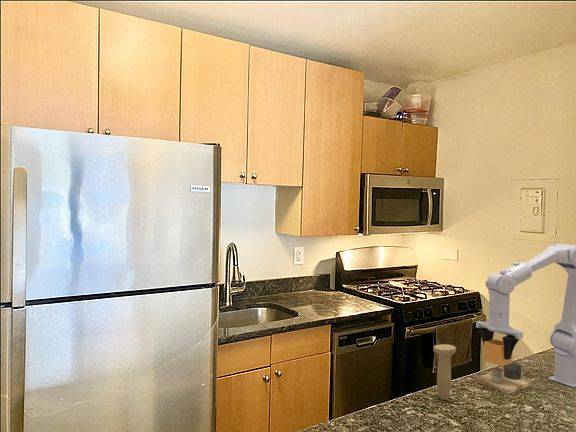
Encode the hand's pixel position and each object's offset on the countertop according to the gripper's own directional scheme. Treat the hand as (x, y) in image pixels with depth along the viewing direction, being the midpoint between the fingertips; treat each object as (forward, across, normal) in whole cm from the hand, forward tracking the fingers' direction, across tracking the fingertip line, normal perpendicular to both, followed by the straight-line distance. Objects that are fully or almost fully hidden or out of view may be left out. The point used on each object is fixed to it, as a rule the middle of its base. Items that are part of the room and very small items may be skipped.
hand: (497, 355), depth 140 cm
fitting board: (+9, 0, +4) cm, 10 cm away
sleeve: (+2, 0, 0) cm, 2 cm away
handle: (+10, -2, -22) cm, 24 cm away
